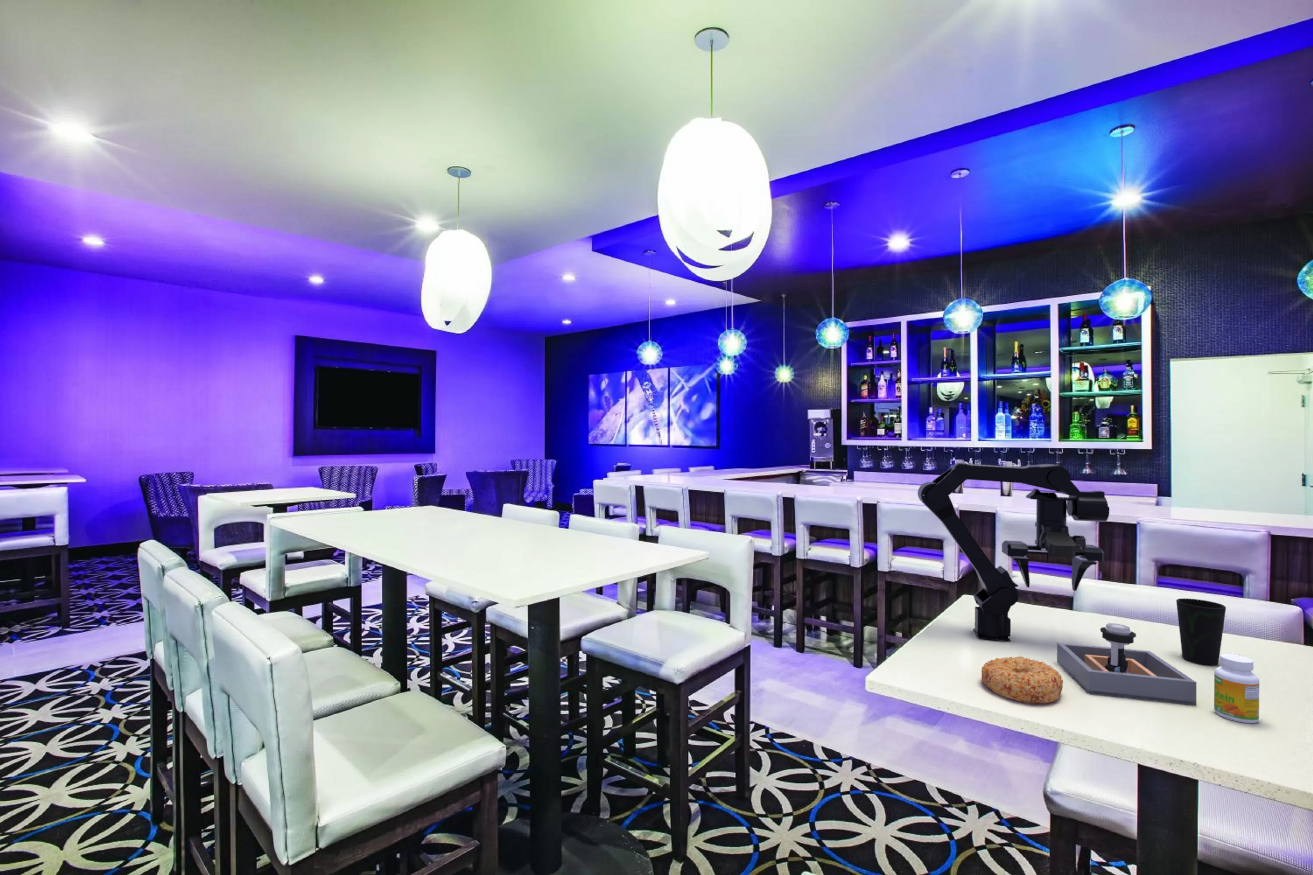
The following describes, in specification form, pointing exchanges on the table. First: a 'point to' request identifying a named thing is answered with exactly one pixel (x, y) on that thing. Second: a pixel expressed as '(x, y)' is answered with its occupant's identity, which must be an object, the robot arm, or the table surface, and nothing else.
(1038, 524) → the robot arm
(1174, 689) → the walled box
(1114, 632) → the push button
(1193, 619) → the cup
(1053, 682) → the bagel
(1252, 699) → the supplement bottle
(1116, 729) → the table surface
